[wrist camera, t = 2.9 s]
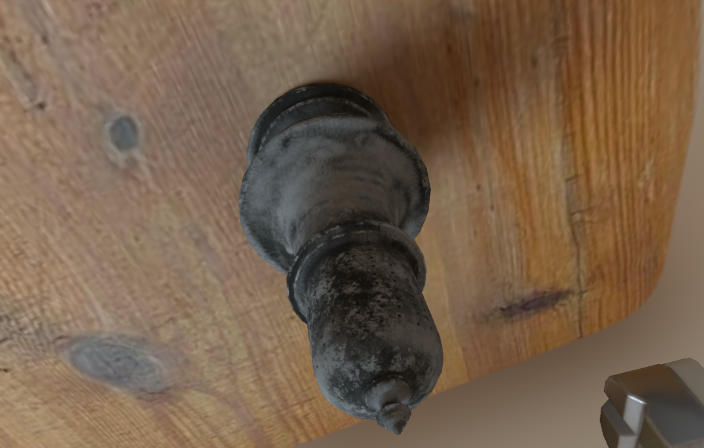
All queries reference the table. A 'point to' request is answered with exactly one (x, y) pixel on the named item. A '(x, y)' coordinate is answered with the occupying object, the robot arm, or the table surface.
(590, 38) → the table surface
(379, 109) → the chess piece
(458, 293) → the table surface
